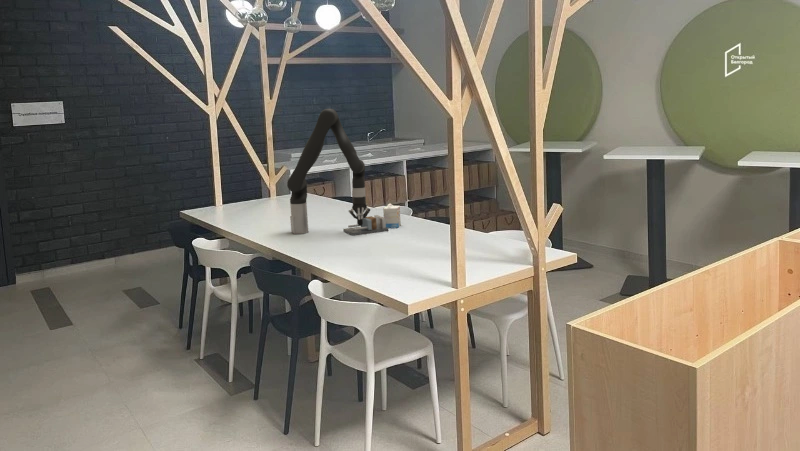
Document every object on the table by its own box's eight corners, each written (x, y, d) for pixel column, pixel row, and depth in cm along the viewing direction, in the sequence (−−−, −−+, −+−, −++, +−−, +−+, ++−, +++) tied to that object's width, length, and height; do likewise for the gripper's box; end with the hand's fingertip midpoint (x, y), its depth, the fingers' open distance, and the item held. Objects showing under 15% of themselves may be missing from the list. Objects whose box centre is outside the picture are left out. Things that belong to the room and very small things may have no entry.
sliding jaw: (355, 231, 380) (354, 222, 379) (347, 228, 390) (347, 218, 389) (371, 229, 384) (371, 220, 383) (363, 226, 394) (363, 216, 393)
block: (370, 229, 386) (369, 218, 385) (365, 227, 392) (365, 217, 391) (376, 228, 388) (376, 218, 386) (372, 226, 394) (371, 216, 393)
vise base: (352, 235, 378) (351, 222, 377) (343, 231, 391) (342, 218, 389) (388, 230, 387) (387, 218, 386) (378, 226, 399) (378, 214, 398)
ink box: (398, 228, 394) (397, 205, 391) (383, 228, 395) (382, 205, 393) (400, 225, 402) (400, 202, 399) (387, 225, 404) (386, 202, 401)
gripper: (350, 197, 377) (351, 228, 381) (372, 195, 382) (373, 225, 386) (345, 195, 384) (346, 225, 387) (367, 193, 389) (368, 223, 393)
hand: (360, 225), depth 387 cm, fingers closed
